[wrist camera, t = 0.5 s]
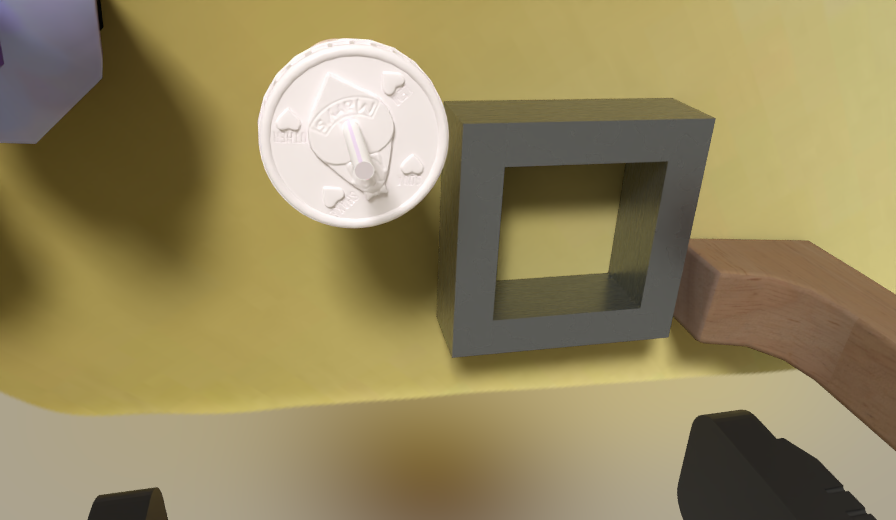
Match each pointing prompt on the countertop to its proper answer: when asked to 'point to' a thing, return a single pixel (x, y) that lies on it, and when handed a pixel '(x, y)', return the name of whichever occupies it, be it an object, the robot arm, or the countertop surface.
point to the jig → (636, 235)
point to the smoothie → (352, 133)
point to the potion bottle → (46, 63)
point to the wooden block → (797, 317)
